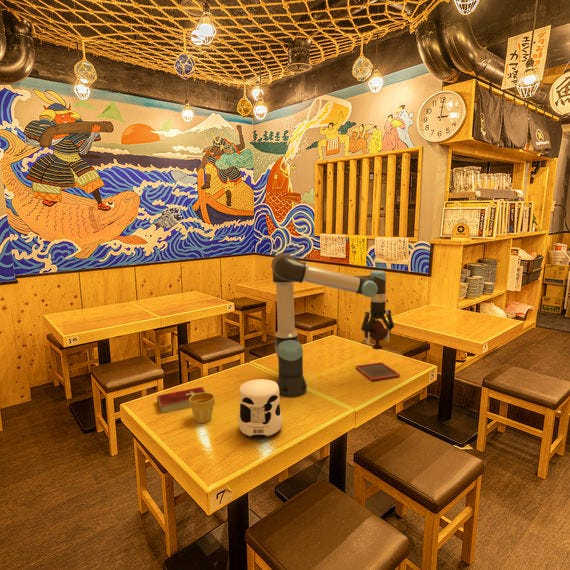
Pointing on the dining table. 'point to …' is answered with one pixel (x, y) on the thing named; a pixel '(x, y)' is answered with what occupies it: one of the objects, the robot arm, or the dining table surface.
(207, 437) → the dining table surface
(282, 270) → the robot arm
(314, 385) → the dining table surface
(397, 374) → the serving tray
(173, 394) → the hardcover book
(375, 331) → the ice cream bowl
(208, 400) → the plant pot
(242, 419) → the milk container
